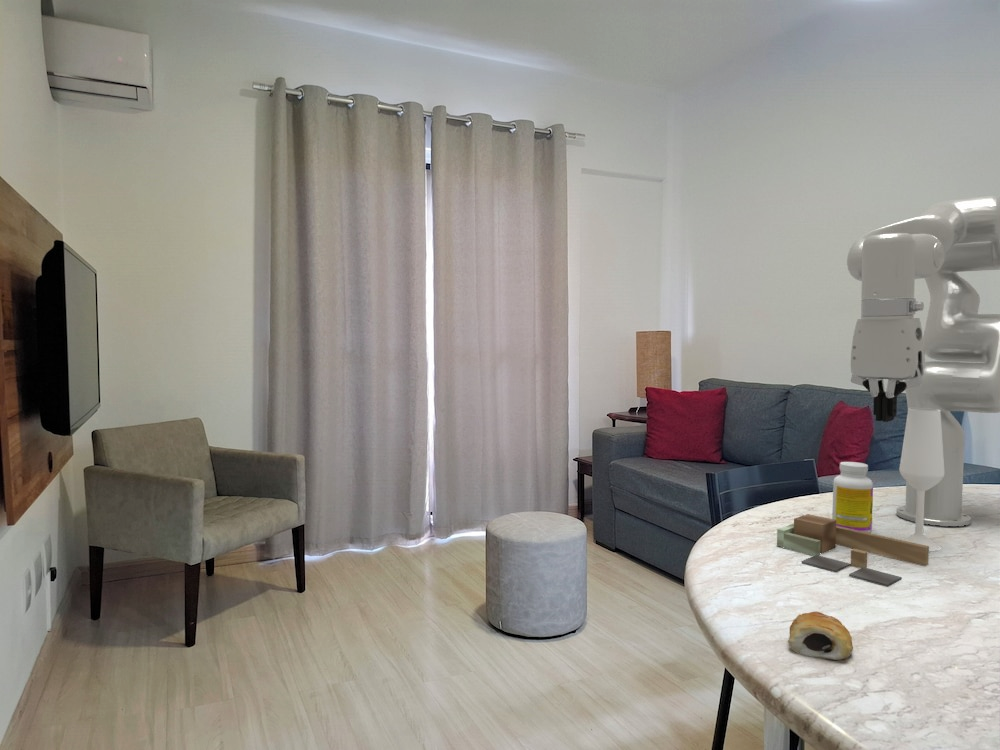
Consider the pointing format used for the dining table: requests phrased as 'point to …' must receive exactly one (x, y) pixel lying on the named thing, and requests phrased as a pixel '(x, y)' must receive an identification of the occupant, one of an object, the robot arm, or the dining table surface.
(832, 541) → the block
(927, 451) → the champagne flute
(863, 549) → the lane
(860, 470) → the supplement bottle
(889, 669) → the dining table surface
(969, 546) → the dining table surface
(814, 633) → the pastry
